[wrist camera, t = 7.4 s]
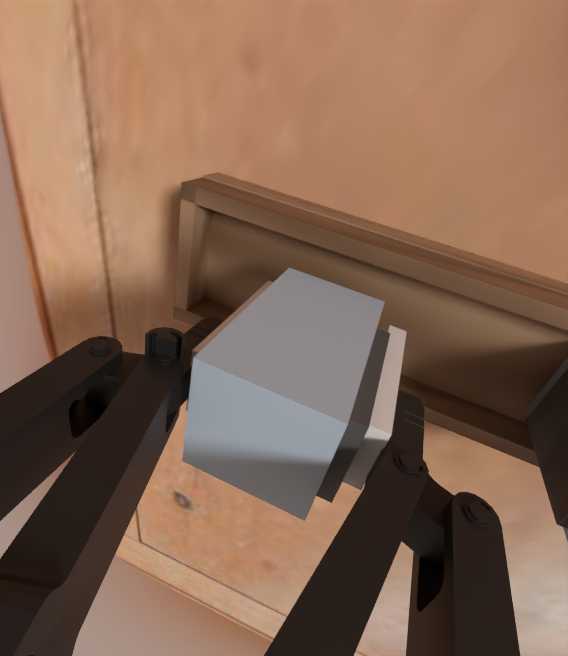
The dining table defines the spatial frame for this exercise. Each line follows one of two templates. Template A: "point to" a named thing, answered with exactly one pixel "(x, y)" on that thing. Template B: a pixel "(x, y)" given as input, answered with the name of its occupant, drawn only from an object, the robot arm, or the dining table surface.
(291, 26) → the dining table surface
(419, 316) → the rail
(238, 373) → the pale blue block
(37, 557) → the robot arm
